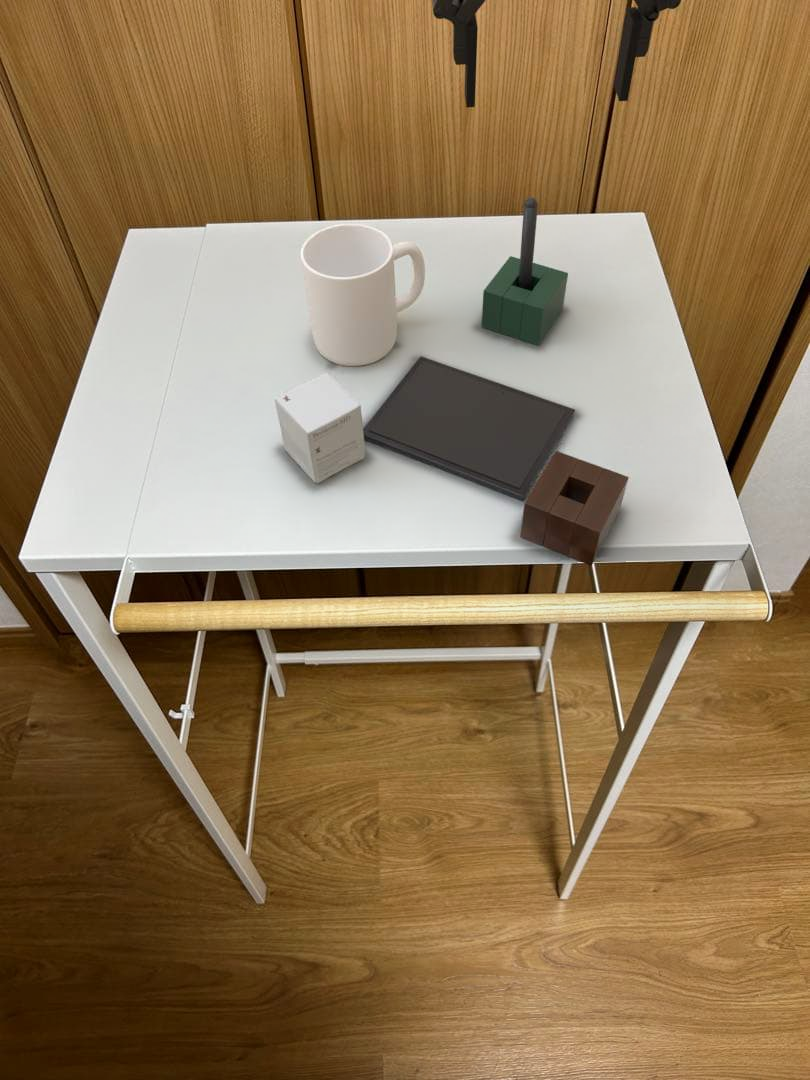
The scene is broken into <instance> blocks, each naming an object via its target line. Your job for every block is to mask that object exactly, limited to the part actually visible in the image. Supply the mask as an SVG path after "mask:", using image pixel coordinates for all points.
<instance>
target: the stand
mask: <svg viewBox="0 0 810 1080" xmlns="http://www.w3.org/2000/svg"><path fill="white" fill-rule="evenodd" d="M519 267H520V257H519V258H518V257H515V256H509V257H508V259H507V260H506V261H505V262H504V264H503V265H502V266H501V267H500V269H499V270H498V271H497V273H496V274H495V275H494V276H493V278H492V279H491V280H490V281H489V283H488V284H487V286H485V288H484V289H483V293H482V309H481V328H483V329H486V330H489V331H492V332H495V333H498V334H501V335H504V336H507V337H510V338H513V339H517V340H519V341H522V342H525V343H529V344H531V345H535V346H540V344H541V343H542V341H543V340H544V338H545V337H546V335H547V334H548V332H549V331H550V330H551V328H552V326H553V325H554V323H555V322H556V320H557V319H558V317H559V316H560V314H561V313H562V311H563V310H564V304H565V298H566V291H567V284H568V277H569V273H568V272H566V271H563V270H561V269H560V270H559V269H556V268H552V267H549V266H546V265H542V264H540V263H537V262H536V263H535V262H533V268H532V279H531V291H529V290H526V289H523V288H519V287H518V281H519Z"/></svg>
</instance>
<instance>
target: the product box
mask: <svg viewBox="0 0 810 1080" xmlns="http://www.w3.org/2000/svg"><path fill="white" fill-rule="evenodd" d="M274 403H275V409H276V414H277V418H278V423H279V427H280V433H281V439H282V442H283V448H284V451H285V452H287V454H288V455H289V456H290V457H291V458H292V459H293V460H294V462H295V463H296V464H297V465H298V466H299V467H300V469H302V470H303V472H304V473H305V474H306V475H307V476H308V477H309V478H310V479H311V481H312V482H313V483H314V484H320V483H321V482H323V481H325V480H326V479H328V478H329V477H332V476H333V475H335V474H337V473H340V471H343V470H344V469H346V468H348V467H350V466H352V465H354V464H357V463H358V462H361V461H363V460H365V458H366V445H365V444H366V443H365V439H364V434H363V429H364V425H363V415H362V406H361V404H360V403H359V402H358V401H357V400H356V399H355V398H354V397H353V395H351V394H350V393H349V392H348V391H347V390H346V389H345V388H344V387H343V386H342V385H341V384H340V383H339V382H338V381H337V380H336V379H335V378H334V377H333V376H332V375H331V374H330V373H329V372H328V371H327V372H323V373H322V374H320V375H318V376H315V377H313V378H312V379H309V380H306V381H304V382H302V383H299V384H297V386H295V387H293V388H292V389H290V390H288V391H285V392H284V393H281V394H279V395H277V396H275V397H274Z"/></svg>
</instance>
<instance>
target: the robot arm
mask: <svg viewBox="0 0 810 1080" xmlns="http://www.w3.org/2000/svg"><path fill="white" fill-rule="evenodd" d="M633 1H634V4H635V5H636V6H632V7H630V6H629V7H628V6H627V7H626V12H625V18H624V25H623V32H622V37H621V42H620V49H619V55H618V61H617V67H616V74H615V79H614V86H613V88H614V91H615V94H616V96H617V99H618V102H628V101H629V96H630V91H631V85H632V80H633V73H634V68H635V62H636V58H644V57H646V55H647V53H648V52H649V48H650V43H651V37H652V32H653V27H654V22H656V21H657V20H658V19H659V16H660V13H661V12H662V11H665V10H667V9H669V10H675V9H676V8H678V7H679V6H680V4H681V2H682V0H633ZM485 2H486V0H431V6H432V13H433V14H432V15H433V16H434V17H435V18H436V19H437V20H443V19H444V20H446V21H447V20H448V21H449V22H451V23H452V56H453V61H454V64H455V65H456V66H460V65H461V66H462V65H464V100H465V108H475V107H476V86H477V85H476V83H477V59H478V58H477V56H478V55H477V54H478V30H479V29H478V28H479V27H478V21H477V15H476V14H477V12H478V11H479V9H480V8H482V6H483V5H484V3H485Z"/></svg>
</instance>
